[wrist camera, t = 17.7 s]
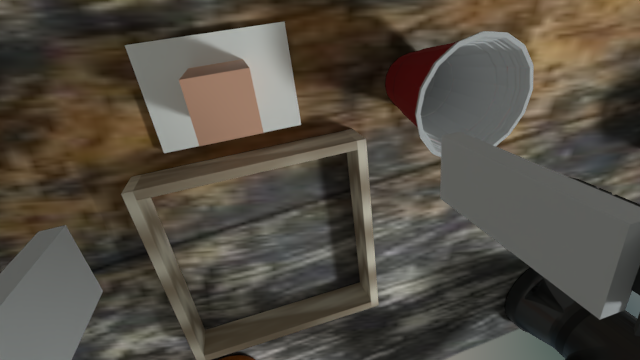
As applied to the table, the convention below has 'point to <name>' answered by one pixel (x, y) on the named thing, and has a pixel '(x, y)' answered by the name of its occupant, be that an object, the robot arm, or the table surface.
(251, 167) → the frame
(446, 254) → the table surface
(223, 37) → the pad
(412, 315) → the table surface
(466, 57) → the plastic cup
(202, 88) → the block
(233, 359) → the wine bottle
